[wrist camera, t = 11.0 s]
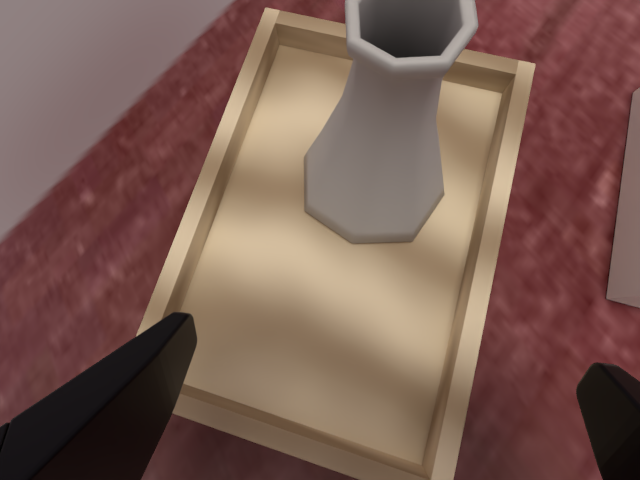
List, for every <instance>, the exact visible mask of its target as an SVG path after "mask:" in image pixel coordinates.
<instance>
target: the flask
mask: <svg viewBox="0 0 640 480" xmlns="http://www.w3.org/2000/svg"><path fill="white" fill-rule="evenodd" d="M345 21H346V44H347V52H348V55H349V56H350V57H351V58H353V62H352V65H351V69H350V72H349V75H348V78H347V82H346V85H345V88H344V92H343V95H342V97H341V99H340V100H339V102H338V104H337V105H336V107H335V109H334V110H333V112H332V114H331V116H330V117H329V119H328V121H327V122H326V124H325V126H324V127H323V129H322V131H321V132H320V133H319V135H318V136H317V138H316V139H315V141H314V142H313V144H312V145H311V147H310V148H309V149H308V151H307V153H306V154H305V156H304V211H305V212H307V213H308V214H310V215H311V216H313V217H314V218H316V219H317V220H319V221H320V222H322V223H323V224H325V225H326V226H328V227H329V228H331V229H332V230H333V231H335V232H336V233H338V234H339V235H341V236H342V237H344V238H345V239H347V240H348V241H350V242H351V243H380V242H412V241H413V240H414V239H415V237H416V236H417V234H418V233H419V232H420V230H421V229H422V227H423V226H424V224H425V223H426V221H427V220H428V218H429V217H430V215H431V214H432V212H433V211H434V209H435V208H436V207H437V205H438V204H439V202H440V201H441V199H442V198H443V196H444V195H445V194H444V183H443V173H442V164H441V154H440V145H439V135H438V129H437V123H436V115H437V109H438V103H439V96H440V90H441V83H442V79H443V77H444V75H445V74H446V73H447V71H448V70H449V69H450V67H451V66H452V64H453V63H454V62H455V60H456V59H457V58H458V56H459V55H460V53H461V52H462V51H463V49H464V48H465V47H466V45H467V44H468V42H469V41H470V40H471V38H472V37H473V36H474V34H475V33H476V30H477V28H478V19H477V12H476V5H475V0H345Z"/></svg>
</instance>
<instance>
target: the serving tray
mask: <svg viewBox="0 0 640 480" xmlns="http://www.w3.org/2000/svg"><path fill="white" fill-rule="evenodd" d="M352 62H353V58H351V57H350V56H349V55H348V52H347V44H346V24H342V23H337V22H332V21H328V20H323V19H318V18H313V17H308V16H304V15H299V14H294V13H289V12H284V11H280V10H275V9H270V8H265V10H264V13H263V16H262V18H261V21H260V23H259V26H258V28H257V31H256V33H255V36H254V38H253V41H252V43H251V46H250V48H249V51H248V54H247V56H246V59H245V61H244V64H243V66H242V69H241V71H240V74H239V76H238V79H237V81H236V84H235V87H234V89H233V92H232V94H231V97H230V99H229V102H228V104H227V107H226V109H225V112H224V114H223V117H222V120H221V122H220V125H219V127H218V130H217V132H216V135H215V137H214V140H213V142H212V145H211V147H210V150H209V152H208V155H207V158H206V160H205V163H204V165H203V168H202V170H201V173H200V175H199V178H198V180H197V183H196V185H195V188H194V191H193V193H192V196H191V198H190V201H189V203H188V206H187V208H186V211H185V213H184V216H183V218H182V221H181V224H180V226H179V229H178V231H177V234H176V236H175V239H174V241H173V244H172V246H171V249H170V251H169V254H168V256H167V259H166V262H165V264H164V267H163V269H162V272H161V274H160V277H159V279H158V282H157V284H156V287H155V289H154V292H153V295H152V297H151V300H150V302H149V305H148V307H147V310H146V312H145V315H144V317H143V320H142V322H141V325H140V328H139V330H138V333H137V335H136V336H138V335H139V334H141V333H142V332H144V331H145V330H147V329H148V328H150V327H151V326H153V325H154V324H156V323H157V322H159V321H160V320H162V319H163V318H165V317H166V316H168V315H169V314H171V313H173V312H185V313H190V314H192V316H193V318H194V323H195V328H196V334H197V345H196V349H195V352H194V355H193V357H192V360H191V363H190V366H189V369H188V372H187V374H186V377H185V380H184V383H183V386H182V389H181V391H180V394H179V397H178V400H177V402H176V405H175V408H174V410H173V412H172V413H173V414H176V415H178V416H181V417H184V418H187V419H190V420H193V421H195V422H198V423H201V424H204V425H207V426H209V427H212V428H215V429H218V430H221V431H223V432H226V433H229V434H232V435H235V436H238V437H240V438H243V439H246V440H249V441H252V442H254V443H257V444H260V445H263V446H266V447H269V448H271V449H274V450H277V451H280V452H283V453H285V454H288V455H291V456H294V457H297V458H300V459H302V460H305V461H308V462H311V463H314V464H316V465H319V466H322V467H325V468H328V469H331V470H333V471H336V472H339V473H342V474H345V475H347V476H350V477H353V478H356V479H359V480H453V479H454V474H455V469H456V464H457V459H458V454H459V449H460V444H461V439H462V434H463V429H464V424H465V419H466V414H467V409H468V403H469V398H470V393H471V388H472V383H473V378H474V373H475V368H476V363H477V358H478V353H479V348H480V343H481V338H482V333H483V328H484V322H485V317H486V312H487V307H488V302H489V297H490V292H491V287H492V282H493V277H494V272H495V267H496V262H497V257H498V252H499V247H500V241H501V236H502V231H503V226H504V221H505V216H506V211H507V206H508V201H509V196H510V191H511V186H512V181H513V176H514V171H515V165H516V160H517V155H518V150H519V145H520V140H521V135H522V130H523V125H524V120H525V115H526V110H527V105H528V100H529V95H530V90H531V84H532V79H533V74H534V69H535V64H534V63H529V62H524V61H519V60H514V59H510V58H505V57H500V56H495V55H490V54H486V53H481V52H476V51H471V50H467V49H463V51H462V52H461V53H460V55H459V56H458V58H457V59H456V60H455V62H454V63H453V64H452V66H451V67H450V69H449V70H448V71H447V73H446V74H445V75H444V77H443V79H442V83H441V90H440V96H439V103H438V109H437V115H436V123H437V129H438V135H439V145H440V154H441V164H442V173H443V183H444V194H445V195H444V196H443V198H442V199H441V201H440V202H439V204H438V205H437V207H436V208H435V209H434V211H433V212H432V214H431V215H430V217H429V218H428V220H427V221H426V223H425V224H424V226H423V227H422V229H421V230H420V232H419V233H418V234H417V236H416V237H415V239H414V240H413V241H412V242H380V243H351V242H350V241H348V240H347V239H345V238H344V237H342V236H341V235H339V234H338V233H336V232H335V231H333V230H332V229H331V228H329V227H328V226H326V225H325V224H323V223H322V222H320V221H319V220H317V219H316V218H314V217H313V216H311V215H310V214H308V213H307V212H305V211H304V156H305V154H306V153H307V151H308V149H309V148H310V147H311V145H312V144H313V142H314V141H315V139H316V138H317V136H318V135H319V133H320V132H321V131H322V129H323V127H324V126H325V124H326V122H327V121H328V119H329V117H330V116H331V114H332V112H333V110H334V109H335V107H336V105H337V104H338V102H339V100H340V99H341V97H342V95H343V92H344V88H345V85H346V82H347V78H348V75H349V72H350V69H351V65H352Z"/></svg>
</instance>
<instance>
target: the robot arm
mask: <svg viewBox="0 0 640 480" xmlns="http://www.w3.org/2000/svg"><path fill="white" fill-rule="evenodd" d="M196 345H197V334H196V328H195V323H194V318H193V316H192V314H190V313H185V312H173V313H171V314H169V315H168V316H166V317H165V318H163V319H162V320H160V321H159V322H157V323H156V324H154V325H153V326H151V327H150V328H148V329H147V330H145V331H144V332H142V333H141V334H139V335H138V336H136V337H135V338H133V339H132V340H130V341H129V342H127V343H126V344H124V345H123V346H121V347H120V348H118V349H117V350H115V351H114V352H112V353H111V354H109V355H108V356H106V357H105V358H103V359H102V360H100V361H99V362H97V363H96V364H94V365H93V366H91V367H90V368H88V369H87V370H85V371H84V372H82V373H81V374H79V375H78V376H76V377H75V378H73V379H72V380H70V381H69V382H67V383H66V384H64V385H63V386H61V387H60V388H58V389H57V390H55V391H54V392H52V393H51V394H49V395H48V396H46V397H45V398H43V399H42V400H40V401H39V402H37V403H36V404H34V405H32V406H31V407H29V408H28V409H26V410H25V411H23V412H22V413H20V414H19V415H17V416H16V417H14V418H13V419H12V420H11V422H10V423H5V424H4V425H2V426H1V427H0V480H141V478H142V476H143V474H144V472H145V469H146V467H147V465H148V463H149V461H150V459H151V457H152V455H153V453H154V451H155V448H156V446H157V444H158V442H159V440H160V438H161V436H162V434H163V432H164V430H165V427H166V425H167V423H168V421H169V419H170V417H171V415H172V412H173V410H174V408H175V405H176V402H177V400H178V397H179V394H180V391H181V389H182V386H183V383H184V380H185V377H186V374H187V372H188V369H189V366H190V363H191V360H192V357H193V355H194V352H195V349H196ZM576 394H577V399H578V402H579V406H580V409H581V412H582V416H583V419H584V422H585V426H586V429H587V432H588V436H589V439H590V442H591V446H592V449H593V452H594V456H595V459H596V462H597V465H598V468H599V471H600V473H601V476H602V478H603V480H640V382H639V381H638V380H637V379H635V378H634V377H633V376H631V375H630V374H628V373H627V372H626V371H624V370H623V369H622V368H620V367H619V366H617V365H614V364H606V363H598V362H597V363H594V364H592V365H591V366H590V367H589V369H588V370H587V372H586V373H585V375H584V376H583V377H582V379H581V380H580V382H579V383H578V385H577V389H576Z"/></svg>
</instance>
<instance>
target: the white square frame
mask: <svg viewBox="0 0 640 480" xmlns="http://www.w3.org/2000/svg"><path fill="white" fill-rule="evenodd" d="M606 299H609V300H612V301H616V302H620V303H623V304H627V305H630V306H634V307H638V308H640V88H638V89H637V90H636V91H634V92H633V95H632V103H631V111H630V118H629V126H628V134H627V142H626V149H625V157H624V165H623V172H622V180H621V188H620V196H619V203H618V211H617V219H616V226H615V234H614V242H613V250H612V257H611V265H610V273H609V281H608V288H607V296H606Z"/></svg>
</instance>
